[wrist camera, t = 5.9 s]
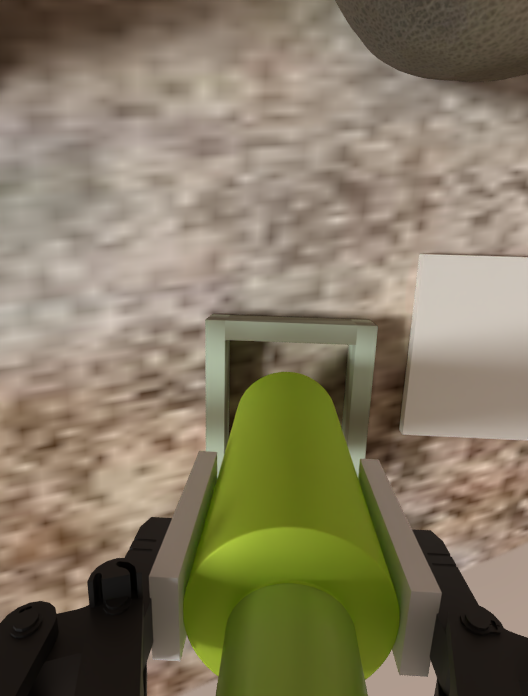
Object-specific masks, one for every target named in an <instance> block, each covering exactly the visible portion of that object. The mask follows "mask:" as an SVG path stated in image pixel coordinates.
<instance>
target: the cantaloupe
mask: <svg viewBox="0 0 528 696" xmlns="http://www.w3.org/2000/svg"><path fill="white" fill-rule="evenodd" d="M335 1H336V3H337V5H338V6H339V8H340V10H341V12H342V13H343V15H344V17H345V18H346V20H347V22H348V23H349V25H350V26H351V28H352V29H353V30H354V32H355V33H356V34H357V35H358V37H359V38H360V39H361V41H362V42H363V43H364V45H365V46H366V47H367V48H368V49H369V50H370V52H371V53H372V54H374V55H375V56H376V57H377V58H378V59H380V60H381V61H383V62H384V63H386V64H388V65H390V66H391V67H393V68H395V69H397V70H399V71H402V72H405V73H407V74H411V75H414V76H418V77H423V78H428V79H438V80H458V81H468V82H478V81H495V80H502V79H507V78H512V77H517V76H521V75H525V74H528V0H335Z"/></svg>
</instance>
